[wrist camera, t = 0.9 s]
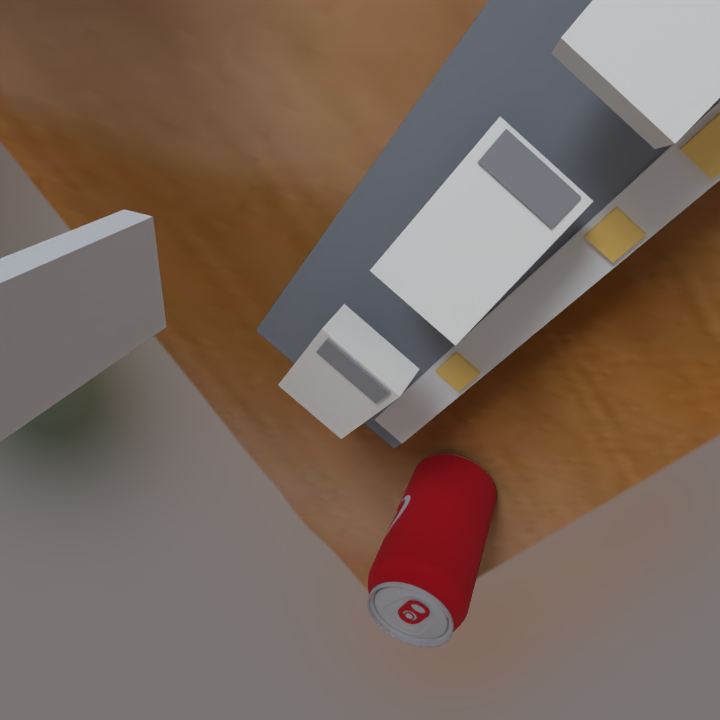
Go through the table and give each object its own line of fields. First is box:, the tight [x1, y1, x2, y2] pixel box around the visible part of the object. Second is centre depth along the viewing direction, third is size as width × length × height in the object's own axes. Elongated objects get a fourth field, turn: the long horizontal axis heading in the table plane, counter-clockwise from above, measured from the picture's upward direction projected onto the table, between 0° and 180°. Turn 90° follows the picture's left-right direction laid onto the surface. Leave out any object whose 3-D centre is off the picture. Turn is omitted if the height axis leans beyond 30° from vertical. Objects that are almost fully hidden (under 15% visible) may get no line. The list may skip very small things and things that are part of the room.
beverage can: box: [367, 454, 497, 647], centre depth 38 cm, size 6×6×12 cm
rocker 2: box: [370, 117, 593, 346], centre depth 25 cm, size 5×8×2 cm, turn 144°
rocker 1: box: [278, 304, 419, 439], centre depth 31 cm, size 5×8×2 cm, turn 144°
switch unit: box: [255, 0, 720, 449], centre depth 28 cm, size 12×32×6 cm, turn 144°
